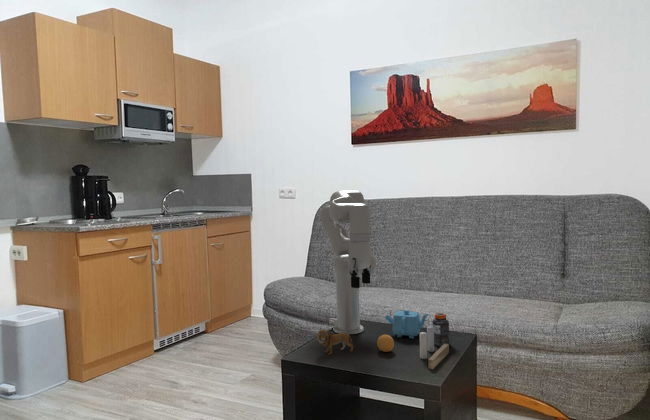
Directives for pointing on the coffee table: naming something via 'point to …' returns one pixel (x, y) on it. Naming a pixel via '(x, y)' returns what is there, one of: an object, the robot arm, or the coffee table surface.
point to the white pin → (423, 345)
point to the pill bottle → (441, 329)
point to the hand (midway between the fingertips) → (360, 285)
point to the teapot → (406, 323)
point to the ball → (385, 343)
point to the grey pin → (430, 338)
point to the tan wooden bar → (438, 356)
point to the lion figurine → (334, 340)
